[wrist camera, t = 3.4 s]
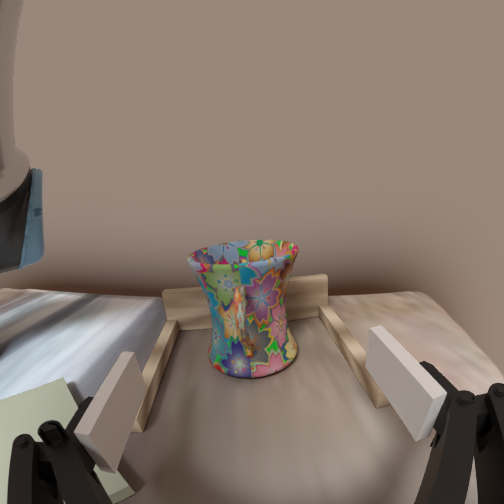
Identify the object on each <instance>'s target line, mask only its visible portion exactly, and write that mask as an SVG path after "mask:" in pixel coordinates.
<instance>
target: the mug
mask: <svg viewBox="0 0 504 504" xmlns="http://www.w3.org/2000/svg"><path fill="white" fill-rule="evenodd" d="M297 254H298V247H297V246H296V245H295V244H293V243H290V242H286V241H279V240H248V241H237V242H230V243H223V244H218V245H213V246H210V247H206V248H202V249H199V250H197V251H195V252H193V253H191V254H190V255H189V256H188V258H187V262H188V264H189V265H190V267H191V268H192V270H193V272H194V273H195V275H196V277H197V279H198V281H199V282H200V285H201V287H202V289H203V291H204V294H205V296H206V299H207V302H208V305H209V309H210V313H211V319H212V329H213V332H212V342H211V345H210V348H209V351H208V358H209V361H210V362H211V364H212V365H213V366H214V367H215V368H216V369H217V370H219V371H220V372H222V373H224V374H227V375H230V376H234V377H242V378H254V377H262V376H266V375H270V374H273V373H275V372H278V371H280V370H282V369H283V368H285V367H286V366H287V365H289V364H290V363H291V362H292V361H293V359H294V358H295V356H296V353H297V344H296V341H295V340H294V338H293V337H292V335H291V332H290V330H289V326H288V322H287V315H286V296H287V288H288V283H289V278H290V274H291V271H292V267H293V264H294V262H295V259H296V256H297Z"/></svg>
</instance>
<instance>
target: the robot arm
mask: <svg viewBox="0 0 504 504" xmlns="http://www.w3.org/2000/svg"><path fill="white" fill-rule="evenodd" d="M23 3H24V0H0V273H4V272H8V271H12V270H17V269H21V268H22V267H24V266H27V265H30V264H33V263H36V262H38V261H39V260H40V259H41V258H42V257H43V255H44V251H45V247H44V234H43V216H42V215H43V213H42V171H41V170H40V169H35V168H33V169H31V170H30V166H29V159H28V156H27V154H26V153H25V152H24V151H22V150H20V149H18V148H17V147H15V138H14V125H13V73H14V59H15V49H16V41H17V33H18V28H19V22H20V17H21V12H22V7H23ZM365 367H366V369H367V370H368V372H369V373H370V375H371V376H372V378H373V379H374V380H375V382H376V383H377V385H378V386H379V388H380V389H381V391H382V392H383V394H384V395H385V396H386V398H387V399H388V401H389V402H390V404H391V405H392V407H393V408H394V410H395V411H396V413H397V414H398V416H399V417H400V419H401V420H402V422H403V423H404V425H405V426H406V428H407V429H408V431H409V432H410V434H411V435H412V437H413V438H414V440H415V441H418V440H421V439H423V438H425V437H427V436H429V435H430V433H431V431H432V428H434V429H435V430H436V432H437V433H436V435H435V437H434V439H433V441H432V443H431V445H430V447H432V450H431V453H430V457H429V461H428V464H427V468H426V471H425V474H424V477H423V480H422V483H421V486H420V489H419V492H418V495H417V497H416V500H415V503H414V504H464V503H465V499H466V495H467V490H468V486H469V480H470V475H471V469H472V462H473V455H474V460H475V469H476V478H477V491H478V504H504V384H502V383H495V384H492V385H491V386H490V388H489V390H488V393H486V394H481V395H476V396H475V395H474V394H473V393H471V392H470V391H466V390H462V391H458V390H457V389H456V388H455V387H454V386H453V385H452V384H451V383H450V382H449V381H448V380H447V379H446V378H445V377H444V376H443V375H442V374H441V373H440V372H438V370H437V369H436V368H435V367H434V366H433V365H432V364H430V363H428V362H425V361H423V362H420V363H418V362H417V361H416V360H415V359H414V358H413V357H412V355H411V354H410V353H409V352H408V351H407V350H406V349H405V348H404V347H403V346H402V345H401V344H400V343H399V342H398V341H397V340H396V339H395V338H394V337H393V336H392V335H391V334H390V333H389V332H388V331H387V330H386V329H385V328H383V327H382V326H381V325H380V326H376V327H371V328H369V339H368V348H367V356H366V364H365ZM146 391H147V388H146V385H145V383H144V380H143V377H142V374H141V371H140V368H139V365H138V362H137V359H136V356H135V353H134V352H122V353H121V355H120V356H119V358H118V359H117V361H116V363H115V364H114V366H113V367H112V369H111V370H110V372H109V374H108V375H107V377H106V378H105V380H104V382H103V383H102V385H101V387H100V388H99V390H98V392H97V393H96V395H95V396H94V397H88V398H86V399H85V400H84V401H83V402H82V403H81V404H80V406H79V407H78V410H77V411H76V412H75V414H74V415H73V417H72V419H71V420H70V422H69V424H68V425H67V427H66V429H64V428H63V426H62V425H61V423H60V422H58V421H56V420H49V421H46V422H44V423H42V424H41V425H40V426H39V428H38V435H39V436H40V438H41V439H42V441H43V442H35V440H34V439H33V437H32V436H31V435H29V434H21V435H19V436H17V437H16V438H15V439H14V441H13V444H12V450H11V458H10V466H9V476H8V490H7V504H64V502H65V504H113V503H112V502H111V500H110V498H109V496H108V495H107V493H106V491H105V489H104V487H103V485H102V484H101V482H100V480H99V478H98V476H97V474H96V472H95V471H94V470H93V469H94V467H95V464H96V465H97V466H98V467H99V469H100V470H101V471H104V472H109V473H114V474H116V471H117V468H118V465H119V462H120V460H121V457H122V454H123V451H124V448H125V446H126V443H127V440H128V438H129V435H130V432H131V430H132V427H133V424H134V422H135V419H136V416H137V414H138V411H139V409H140V406H141V403H142V401H143V398H144V396H145V393H146ZM432 445H433V446H432ZM63 499H64V500H63Z"/></svg>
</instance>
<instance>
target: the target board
mask: <svg viewBox="0 0 504 504" xmlns="http://www.w3.org/2000/svg"><path fill="white" fill-rule="evenodd" d="M77 410H78V406H77V404H76V403H75V401H74V399H73V397H72V395H71V393H70V391H69V389H68V386H67V384H66V382H65V380H64V378H61V379H58V380H56V381H53V382H50V383H48V384H45V385H42V386H39V387H37V388H34V389H31V390H28V391H26V392H23V393H20V394H17V395H14V396H11V397H8V398H5V399H2V400H0V504H7V490H8V476H9V466H10V458H11V450H12V444H13V441H14V439H15V438H16V437H17V436H19V435H21V434H29V435H31V436H32V437H33V439H34V440H35V442H43V441H42V439H41V438H40V436H39V435H38V428H39V426H40V425H41V424H42V423H44V422H46V421H49V420H56V421H58V422H60V423H61V425H62V426H63V428H64V429H66V427H67V425H68V424H69V422H70V420H71V419H72V417H73V415H74V414H75V412H76V411H77ZM93 470H94V471H95V472H96V474H97V476H98V478H99V480H100V482H101V484H102V485H103V487H104V489H105V491H106V493H107V495H108V496H109V498H110V500H111V502H112V503H113V504H115V503H117V502H119V501H121V500H123V499H125V498H127V497H129V496H131V495H133V494H135V492H134V491H133V490H132V488H131V487H130V486H129V485H128V483H127V482H126V481H125V480H124V478H123V477H122V476H121V474H120V473H119V472H118V470H117V471H116V474H114V473H109V472H104V471H101V470H100V469H99V467H98V466H97V465H96V464H95V467H94V469H93ZM63 500H64V499H63ZM64 504H65V502H64Z"/></svg>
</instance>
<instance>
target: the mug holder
mask: <svg viewBox="0 0 504 504" xmlns="http://www.w3.org/2000/svg"><path fill="white" fill-rule="evenodd" d="M162 297H163V302H164V307H165V311H166V316H167V322H166V324H165V326H164V328H163V330H162V332H161V334H160V336H159V338H158V340H157V342H156V344H155V346H154V348H153V350H152V353H151V355H150V357H149V359H148V361H147V363H146V365H145V367H144V369H143V372H142V377H143V380H144V383H145V385H146V388H147V391H146V393H145V396H144V398H143V401H142V403H141V406H140V409H139V411H138V414H137V416H136V419H135V422H134V424H133V427H132V430H131V432H138V433H143V431H144V428H145V425H146V422H147V419H148V416H149V413H150V410H151V407H152V404H153V401H154V398H155V396H156V393H157V390H158V387H159V384H160V381H161V378H162V376H163V373H164V370H165V367H166V364H167V362H168V359H169V356H170V354H171V351H172V348H173V345H174V343H175V340H176V337H177V335H178V332H179V330H196V329H210V328H212V319H211V313H210V309H209V305H208V302H207V299H206V296H205V294H204V291H203V289H202V287H190V288H180V289H179V288H178V289H165V290H164V291H163V292H162ZM286 315H287V321H288V320H296V319H303V318H310V317H317V316H319V318H320V320H321V321H322V323H323V324H324V326H325V327H326V329H327V330H328V332H329V334H330V335H331V337H332V338H333V340H334V341H335V343H336V345H337V346H338V348H339V349H340V351H341V352H342V354H343V356H344V357H345V359H346V360H347V362H348V364H349V365H350V367H351V368H352V370H353V371H354V373H355V375H356V376H357V378H358V379H359V381H360V383H361V384H362V386H363V388H364V389H365V391H366V392H367V394H368V396H369V397H370V399H371V400H372V402H373V404H374V405H375V407H376V408H379V407H383V406H386V405H389V404H390V402H389V401H388V399H387V398H386V396H385V395H384V394H383V392H382V391H381V389H380V388H379V386H378V385H377V383H376V382H375V380H374V379H373V378H372V376H371V375H370V373H369V372H368V370H367V369H366V367H365V364H366V356H367V353H366V352H365V351H364V349H363V348H362V347H361V346H360V344H359V343H358V342H357V340H356V339H355V338H354V336H353V335H352V334H351V333H350V331H349V330H348V329H347V328H346V326H345V325H344V324H343V322H342V321H341V320H340V319H339V317H338V316H337V315H336V314H335V312H334V311H333V310H332V308H331V307H330V306H329V305H328V277H327V275H326V274H317V275H309V276H299V277H291V278H289V283H288V288H287V296H286Z"/></svg>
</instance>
